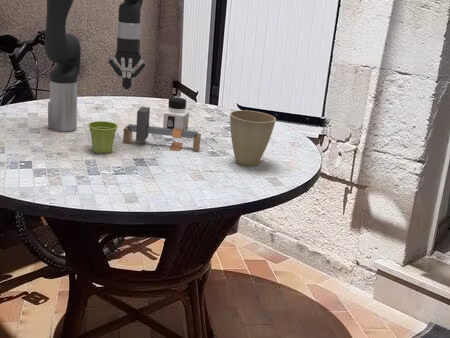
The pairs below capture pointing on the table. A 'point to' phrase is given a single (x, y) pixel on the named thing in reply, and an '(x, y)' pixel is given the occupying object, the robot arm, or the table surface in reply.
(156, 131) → the rail
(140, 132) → the collar
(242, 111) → the plant pot
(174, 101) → the container
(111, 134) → the plant pot
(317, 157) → the table surface
